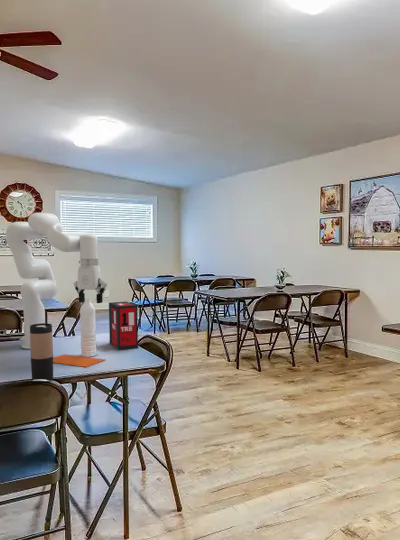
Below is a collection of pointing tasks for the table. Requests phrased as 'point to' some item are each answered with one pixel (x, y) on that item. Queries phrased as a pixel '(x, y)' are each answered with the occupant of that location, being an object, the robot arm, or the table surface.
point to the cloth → (76, 360)
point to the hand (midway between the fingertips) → (90, 302)
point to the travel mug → (41, 351)
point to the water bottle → (88, 329)
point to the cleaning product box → (123, 325)
